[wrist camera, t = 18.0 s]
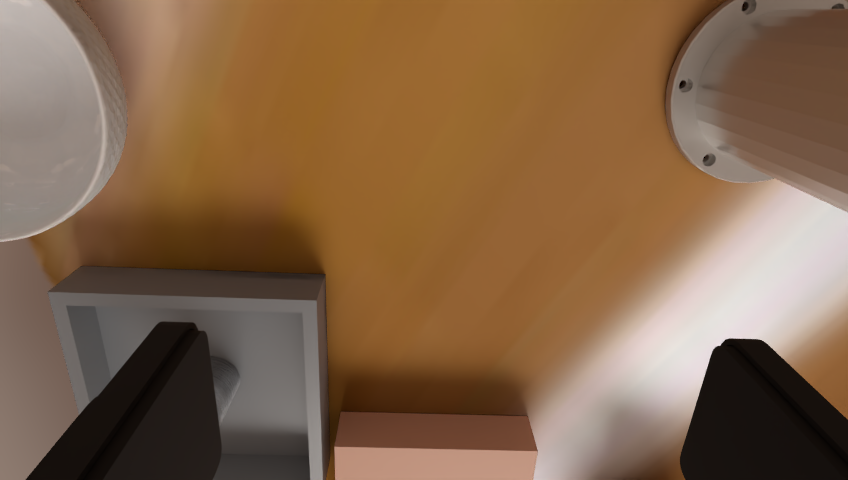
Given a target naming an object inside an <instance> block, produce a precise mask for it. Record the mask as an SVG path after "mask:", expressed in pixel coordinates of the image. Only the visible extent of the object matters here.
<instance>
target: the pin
mask: <svg viewBox="0 0 848 480" xmlns="http://www.w3.org/2000/svg"><path fill="white" fill-rule="evenodd" d="M210 358H211V366H212V374H213V382H214V389H215V397H216V405H217V412H218V420H219V427H220V425H221V423H222V421H223V418H224V416H225V414H226V412H227V410H228V408H229V406H230V404H231V401H232V399H233V397H234V395H235V393H236V391H237V389H238V387H239V384H240V375H239V373H238V371H237V369H236V368H235V366H234V365H233V364H231V363H230V362H229V361H227V360H225V359H223V358H220V357H214V356H210Z"/></svg>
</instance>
